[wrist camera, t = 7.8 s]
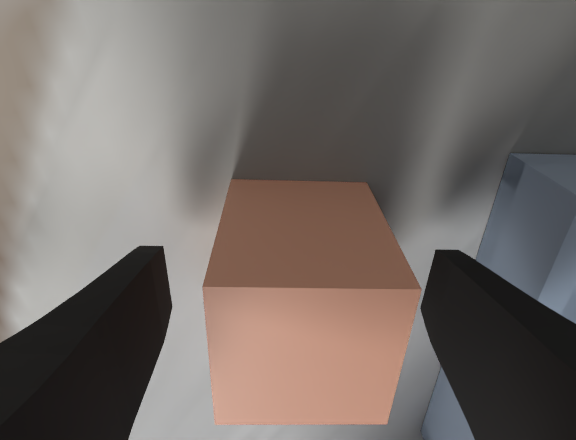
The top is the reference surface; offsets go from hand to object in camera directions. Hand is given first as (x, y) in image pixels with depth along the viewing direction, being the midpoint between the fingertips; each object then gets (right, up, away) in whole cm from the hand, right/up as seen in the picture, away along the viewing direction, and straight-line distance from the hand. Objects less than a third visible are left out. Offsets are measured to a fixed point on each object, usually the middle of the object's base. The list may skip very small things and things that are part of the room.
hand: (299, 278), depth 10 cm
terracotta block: (0, +1, +2) cm, 2 cm away
